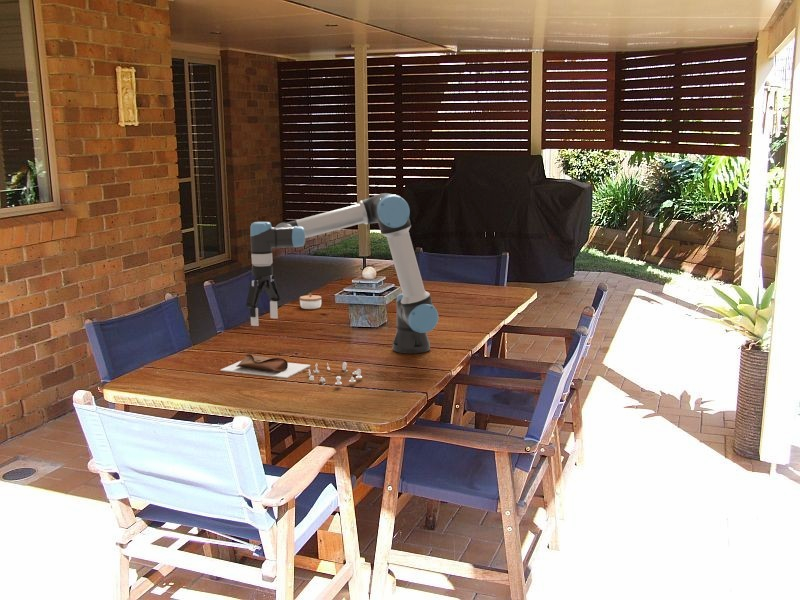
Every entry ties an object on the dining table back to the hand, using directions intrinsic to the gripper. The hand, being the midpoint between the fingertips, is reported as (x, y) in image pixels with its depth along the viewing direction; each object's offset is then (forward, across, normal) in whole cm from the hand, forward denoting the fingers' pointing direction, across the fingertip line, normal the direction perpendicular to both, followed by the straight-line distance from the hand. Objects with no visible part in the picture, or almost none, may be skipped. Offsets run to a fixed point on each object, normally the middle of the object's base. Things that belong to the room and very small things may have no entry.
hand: (264, 321), depth 309 cm
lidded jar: (+18, -99, -34) cm, 106 cm away
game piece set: (+18, 0, +28) cm, 34 cm away
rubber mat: (+18, 0, 0) cm, 18 cm away
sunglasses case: (+18, +5, 0) cm, 19 cm away
